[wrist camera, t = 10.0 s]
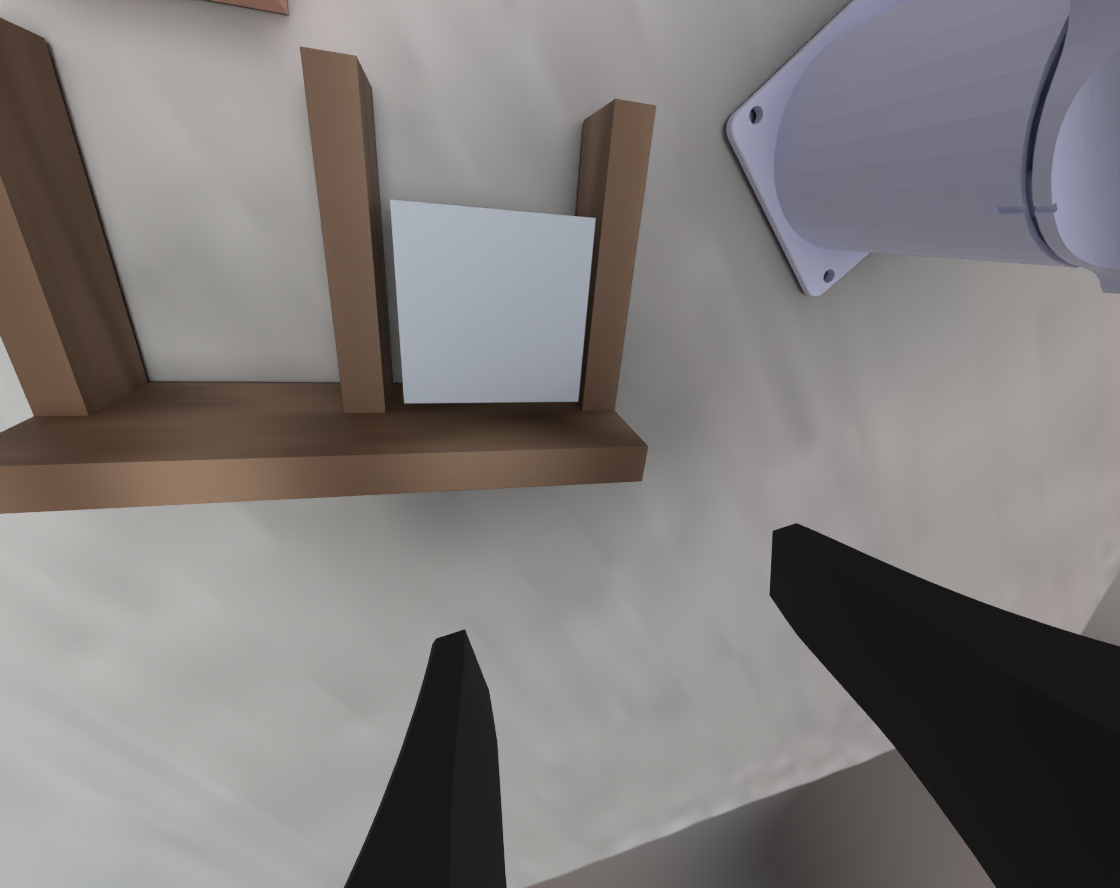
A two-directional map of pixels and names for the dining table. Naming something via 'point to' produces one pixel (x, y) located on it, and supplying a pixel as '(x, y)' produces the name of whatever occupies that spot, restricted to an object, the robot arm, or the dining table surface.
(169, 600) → the dining table surface
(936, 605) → the robot arm
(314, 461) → the shelf lanes
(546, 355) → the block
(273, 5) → the block
